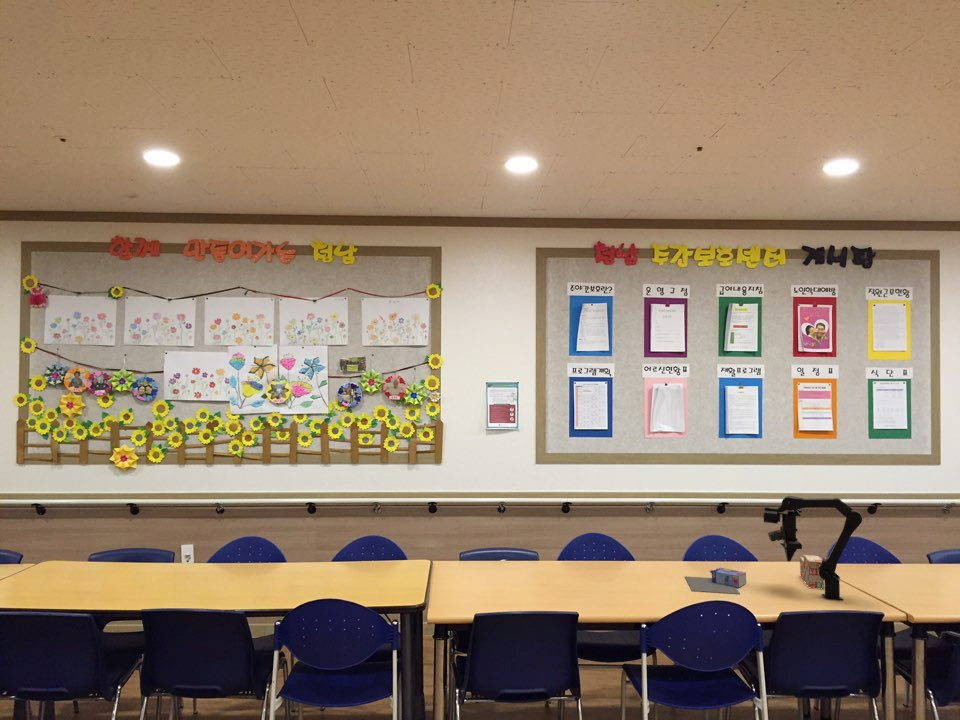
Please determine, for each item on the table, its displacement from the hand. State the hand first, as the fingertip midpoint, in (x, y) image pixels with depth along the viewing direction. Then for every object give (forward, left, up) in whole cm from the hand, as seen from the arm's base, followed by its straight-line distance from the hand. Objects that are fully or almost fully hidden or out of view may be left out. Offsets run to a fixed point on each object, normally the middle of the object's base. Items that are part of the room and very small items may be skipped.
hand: (788, 561), depth 292 cm
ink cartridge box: (+4, +18, -10) cm, 21 cm away
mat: (+3, +32, -13) cm, 35 cm away
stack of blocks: (+19, -15, -14) cm, 27 cm away
